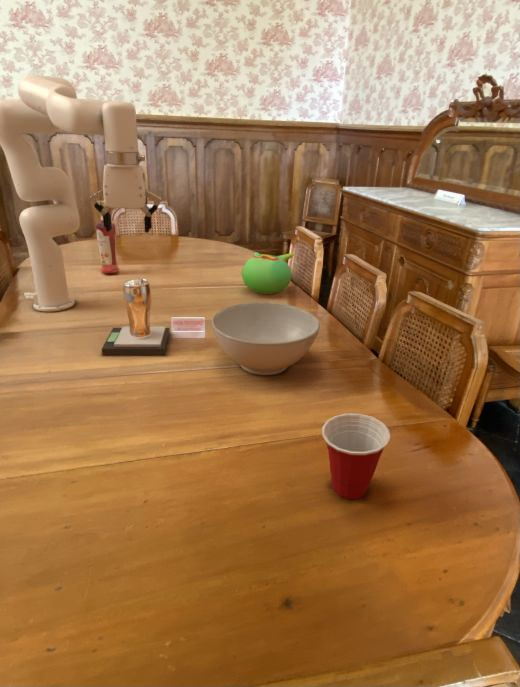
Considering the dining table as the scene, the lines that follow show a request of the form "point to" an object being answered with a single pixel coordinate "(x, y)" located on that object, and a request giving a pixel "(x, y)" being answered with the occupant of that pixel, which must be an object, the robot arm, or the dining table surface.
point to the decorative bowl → (265, 335)
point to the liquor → (107, 247)
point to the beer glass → (138, 307)
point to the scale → (136, 342)
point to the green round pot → (267, 273)
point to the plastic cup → (354, 451)
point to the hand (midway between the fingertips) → (128, 231)
